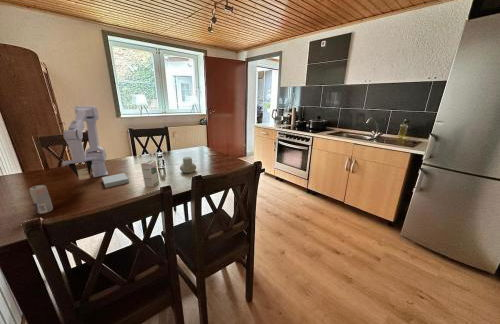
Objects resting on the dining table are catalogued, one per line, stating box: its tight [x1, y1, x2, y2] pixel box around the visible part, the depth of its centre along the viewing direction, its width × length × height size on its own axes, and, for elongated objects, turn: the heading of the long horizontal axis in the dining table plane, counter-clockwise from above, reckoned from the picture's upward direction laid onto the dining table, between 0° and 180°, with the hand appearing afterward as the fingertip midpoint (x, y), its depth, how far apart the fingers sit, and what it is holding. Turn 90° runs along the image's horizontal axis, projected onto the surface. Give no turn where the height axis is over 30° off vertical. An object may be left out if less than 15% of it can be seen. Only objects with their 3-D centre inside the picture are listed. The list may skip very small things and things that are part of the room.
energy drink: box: [29, 184, 54, 215], centre depth 91 cm, size 5×5×12 cm
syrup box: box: [140, 159, 160, 188], centre depth 119 cm, size 6×6×14 cm
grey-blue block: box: [101, 172, 130, 189], centre depth 124 cm, size 12×12×3 cm
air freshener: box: [179, 156, 197, 174], centre depth 141 cm, size 11×8×10 cm
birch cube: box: [77, 168, 90, 181], centre depth 113 cm, size 4×4×4 cm
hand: (83, 175), depth 114 cm, fingers closed on birch cube, 4 cm apart
